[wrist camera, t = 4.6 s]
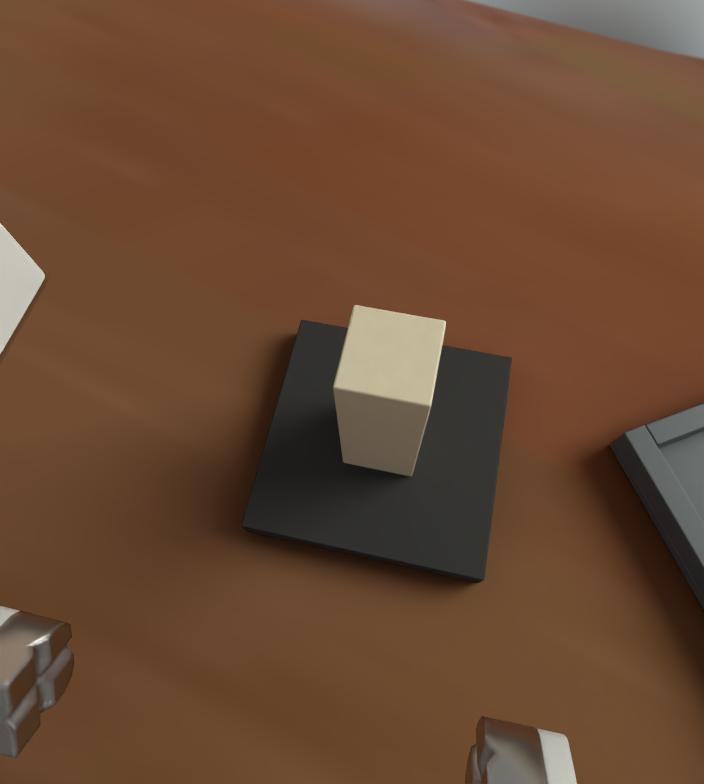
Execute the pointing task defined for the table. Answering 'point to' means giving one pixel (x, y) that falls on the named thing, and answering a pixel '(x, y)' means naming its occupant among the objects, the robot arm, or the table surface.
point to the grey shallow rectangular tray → (671, 484)
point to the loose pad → (374, 498)
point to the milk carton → (15, 284)
